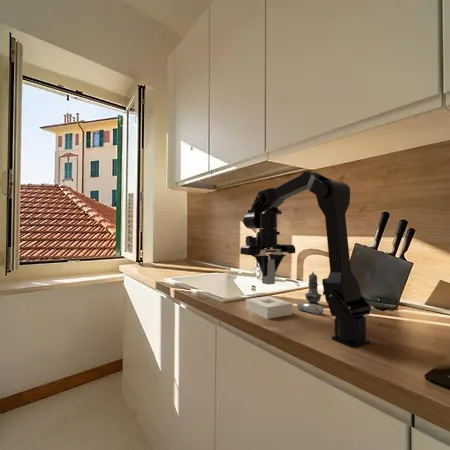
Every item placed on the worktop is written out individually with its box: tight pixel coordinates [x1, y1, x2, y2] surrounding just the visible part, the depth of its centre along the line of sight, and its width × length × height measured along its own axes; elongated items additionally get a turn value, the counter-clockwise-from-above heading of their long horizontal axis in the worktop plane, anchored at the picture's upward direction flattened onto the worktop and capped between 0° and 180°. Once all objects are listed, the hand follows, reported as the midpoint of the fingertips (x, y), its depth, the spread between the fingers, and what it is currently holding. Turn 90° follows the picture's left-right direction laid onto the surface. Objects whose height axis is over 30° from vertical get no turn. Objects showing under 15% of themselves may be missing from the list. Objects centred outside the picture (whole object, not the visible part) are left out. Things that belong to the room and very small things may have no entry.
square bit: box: [261, 258, 276, 285], centre depth 97 cm, size 3×3×8 cm
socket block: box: [245, 295, 294, 320], centre depth 97 cm, size 12×10×4 cm
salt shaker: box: [304, 271, 323, 306], centre depth 107 cm, size 6×6×12 cm
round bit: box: [296, 300, 324, 316], centre depth 97 cm, size 8×3×3 cm
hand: (268, 275), depth 97 cm, fingers closed on square bit, 3 cm apart
